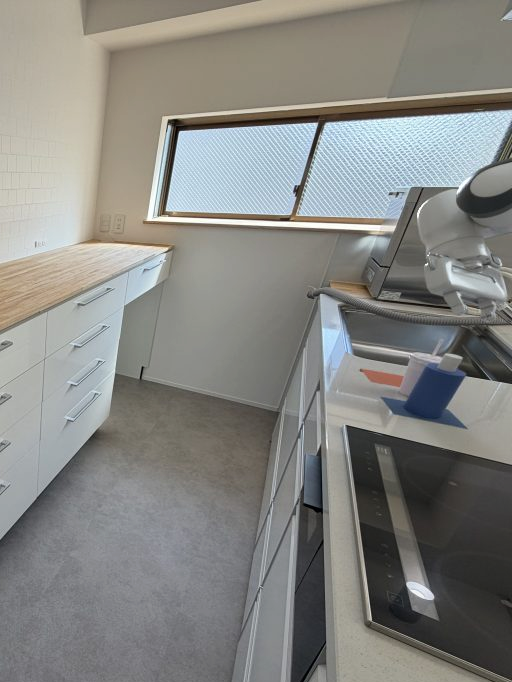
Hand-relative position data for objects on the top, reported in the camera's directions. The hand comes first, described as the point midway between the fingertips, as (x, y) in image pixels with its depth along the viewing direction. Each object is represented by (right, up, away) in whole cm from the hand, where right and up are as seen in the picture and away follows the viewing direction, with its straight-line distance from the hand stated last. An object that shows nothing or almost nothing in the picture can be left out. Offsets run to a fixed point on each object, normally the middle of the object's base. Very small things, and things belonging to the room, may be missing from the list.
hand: (475, 317), depth 87 cm
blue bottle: (-10, -20, +2) cm, 22 cm away
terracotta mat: (-1, -14, +16) cm, 21 cm away
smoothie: (-5, -17, +10) cm, 20 cm away
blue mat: (-10, -20, +2) cm, 23 cm away
